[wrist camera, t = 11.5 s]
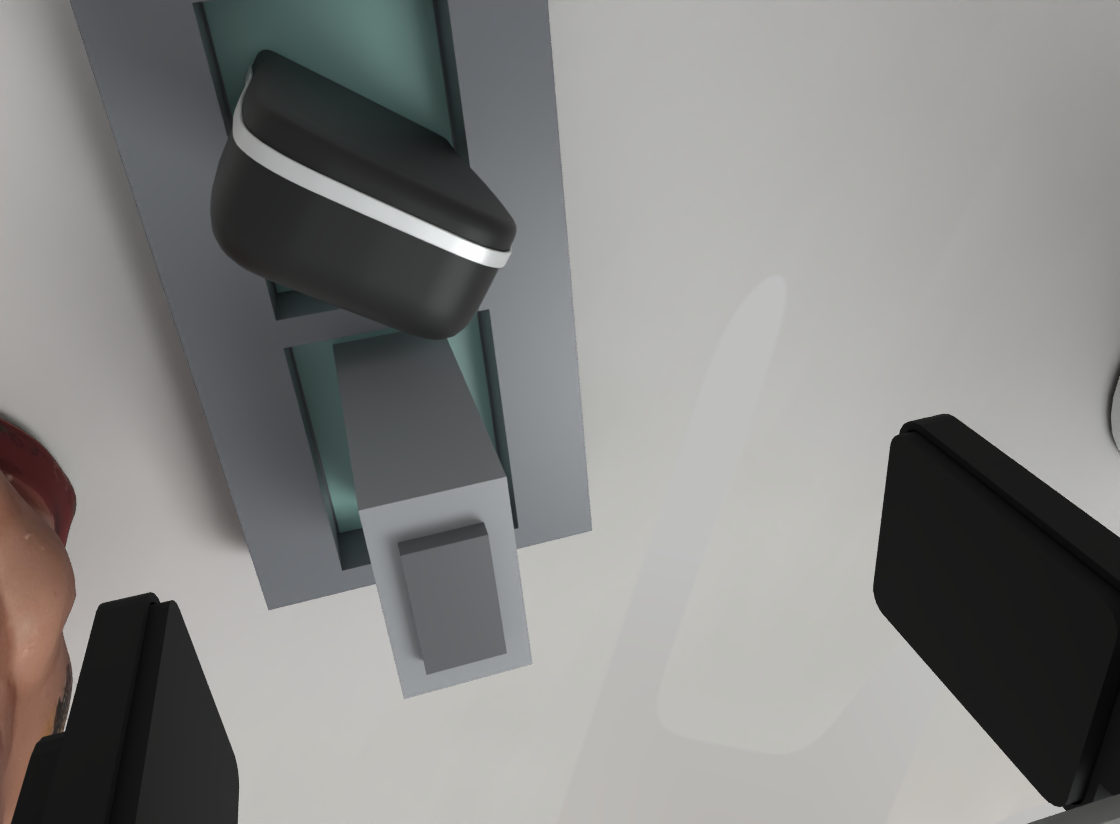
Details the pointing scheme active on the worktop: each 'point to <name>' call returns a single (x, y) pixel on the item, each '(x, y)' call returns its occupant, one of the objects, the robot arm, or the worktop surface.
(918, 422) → the robot arm
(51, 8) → the worktop surface
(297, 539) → the dock
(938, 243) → the worktop surface
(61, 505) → the decorative planter
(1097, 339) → the worktop surface
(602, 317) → the worktop surface
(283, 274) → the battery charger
